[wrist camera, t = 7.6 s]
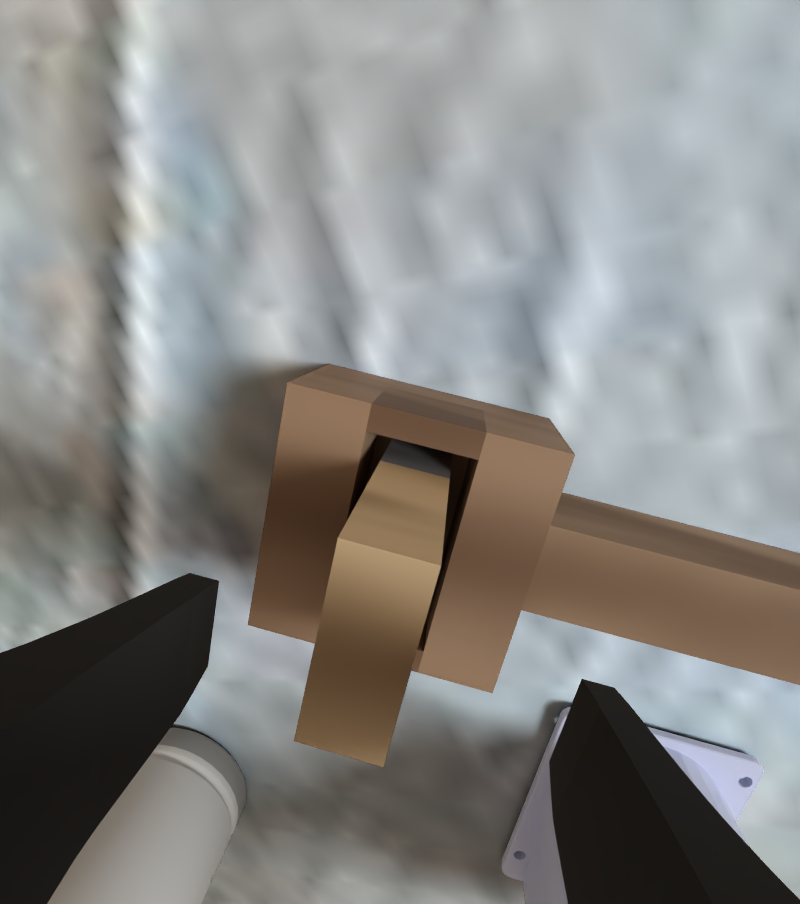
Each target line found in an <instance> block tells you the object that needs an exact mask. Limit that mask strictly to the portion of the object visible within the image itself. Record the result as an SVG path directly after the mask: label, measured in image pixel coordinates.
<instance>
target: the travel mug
mask: <svg viewBox="0 0 800 904" xmlns="http://www.w3.org/2000/svg"><path fill="white" fill-rule="evenodd" d="M246 798H247V797H246V784H245V780H244V776H243V774H242V772H241V770H240V768H239V766H238V764H237V763H236V761H235V760H234V759H233V757H232V756H231V755H230V754H229V753H228V752H227V751H226V750H225V749H224V748H223V747H222V746H220V745H219V744H217V743H216V742H214V741H213V740H212V739H210V738H208V737H206V736H204V735H202V734H199V733H196V732H193V731H190V730H187V729H180V728H170V729H169V730H168V732H167V733H166V735H165V736H164V737H163V739H162V740H161V741H160V743H159V744H158V745H157V747H156V748H155V750H154V751H153V752H152V754H151V755H150V756H149V758H148V759H147V760H146V762H145V763H144V764H143V766H142V767H141V769H140V770H139V771H138V773H137V774H136V775H135V777H134V778H133V779H132V781H131V782H130V783H129V785H128V786H127V787H126V789H125V790H124V791H123V793H122V794H121V796H120V797H119V798H118V800H117V801H116V802H115V804H114V805H113V806H112V808H111V809H110V810H109V812H108V813H107V814H106V816H105V817H104V818H103V820H102V821H101V823H100V824H99V825H98V827H97V828H96V829H95V831H94V832H93V834H92V835H91V837H90V838H89V839H88V841H87V842H86V844H85V845H84V847H83V848H82V850H81V851H80V853H79V854H78V855H77V857H76V858H75V860H74V861H73V863H72V865H71V866H70V868H69V870H68V871H67V873H66V874H65V876H64V878H63V879H62V881H61V882H60V884H59V886H58V887H57V889H56V890H55V892H54V894H53V895H52V897H51V898H50V900H49V902H48V903H47V904H202V902H203V900H204V898H205V895H206V893H207V891H208V888H209V886H210V884H211V882H212V879H213V877H214V875H215V873H216V870H217V868H218V866H219V864H220V861H221V859H222V857H223V854H224V852H225V850H226V848H227V845H228V843H229V840H230V837H231V835H232V834H233V832H234V830H235V827H236V825H237V823H238V821H239V818H240V816H241V814H242V811H243V809H244V807H245V802H246Z"/></svg>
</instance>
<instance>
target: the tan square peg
mask: <svg viewBox="0 0 800 904" xmlns="http://www.w3.org/2000/svg"><path fill="white" fill-rule="evenodd" d="M451 462H452V453H449V452H445V451H441V450H437V449H433V448H429V447H426V446H422V445H418V444H414V443H410V442H406V441H402V440H398V439H394V438H392V440H391V442H390V444H389V446H388V448H387V449H386V451H385V453H384V455H383V457H382V458H381V460H380V462H379V464H378V466H377V468H376V469H375V471H374V473H373V475H372V477H371V478H370V480H369V482H368V484H367V486H366V488H365V489H364V491H363V493H362V495H361V497H360V498H359V500H358V502H357V504H356V506H355V507H354V509H353V511H352V513H351V515H350V517H349V518H348V520H347V522H346V524H345V526H344V527H343V529H342V531H341V533H340V535H339V537H338V539H337V544H336V549H335V553H334V558H333V563H332V567H331V572H330V576H329V581H328V586H327V590H326V595H325V600H324V604H323V609H322V614H321V618H320V623H319V627H318V632H317V637H316V641H315V646H314V651H313V655H312V660H311V665H310V669H309V674H308V678H307V683H306V688H305V692H304V697H303V702H302V706H301V711H300V716H299V720H298V725H297V729H296V734H295V739H294V741H295V742H299V743H302V744H306V745H309V746H312V747H316V748H319V749H323V750H326V751H329V752H333V753H336V754H340V755H343V756H347V757H350V758H353V759H357V760H360V761H364V762H367V763H370V764H374V765H377V766H381V767H383V766H384V763H385V759H386V756H387V752H388V749H389V745H390V742H391V738H392V735H393V732H394V728H395V725H396V721H397V718H398V714H399V711H400V707H401V704H402V700H403V697H404V693H405V690H406V686H407V683H408V679H409V676H410V672H411V669H412V666H413V662H414V659H415V655H416V652H417V648H418V645H419V641H420V638H421V634H422V631H423V627H424V624H425V620H426V617H427V613H428V610H429V606H430V603H431V600H432V596H433V593H434V589H435V586H436V582H437V579H438V575H439V572H440V568H441V563H442V553H443V543H444V533H445V522H446V512H447V502H448V492H449V482H450V472H451Z"/></svg>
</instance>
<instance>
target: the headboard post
mask: <svg viewBox="0 0 800 904" xmlns="http://www.w3.org/2000/svg"><path fill="white" fill-rule="evenodd" d="M392 438H394V439H398V440H402V441H406V442H410V443H414V444H418V445H422V446H426V447H429V448H433V449H437V450H441V451H445V452H449V453H452V462H451V472H450V482H449V492H448V502H447V512H446V522H445V533H444V543H443V553H442V563H441V568H440V572H439V575H438V579H437V582H436V586H435V589H434V593H433V596H432V600H431V603H430V606H429V610H428V613H427V617H426V620H425V624H424V627H423V631H422V634H421V638H420V641H419V645H418V648H417V652H416V655H415V659H414V662H413V666H412V669H411V671H415V672H418V673H422V674H426V675H429V676H433V677H436V678H440V679H444V680H447V681H451V682H454V683H458V684H461V685H465V686H469V687H472V688H476V689H479V690H483V691H487V692H490V693H493V690H494V687H495V684H496V681H497V679H498V676H499V673H500V670H501V667H502V664H503V661H504V658H505V655H506V652H507V650H508V647H509V644H510V641H511V638H512V635H513V632H514V629H515V626H516V624H517V621H518V618H519V615H520V612H521V610H523V611H527V612H531V613H534V614H538V615H542V616H546V617H549V618H553V619H557V620H560V621H564V622H568V623H572V624H575V625H579V626H583V627H586V628H590V629H594V630H598V631H601V632H605V633H609V634H612V635H616V636H620V637H624V638H627V639H631V640H635V641H638V642H642V643H646V644H650V645H653V646H657V647H661V648H664V649H668V650H672V651H676V652H679V653H683V654H687V655H690V656H694V657H698V658H702V659H705V660H709V661H713V662H716V663H720V664H724V665H728V666H731V667H735V668H739V669H742V670H746V671H750V672H753V673H757V674H761V675H765V676H768V677H772V678H776V679H779V680H783V681H787V682H791V683H794V684H798V685H800V553H796V552H792V551H788V550H784V549H780V548H776V547H772V546H769V545H765V544H761V543H757V542H753V541H749V540H745V539H741V538H737V537H733V536H729V535H726V534H722V533H718V532H714V531H710V530H706V529H702V528H698V527H694V526H690V525H686V524H683V523H679V522H675V521H671V520H667V519H663V518H659V517H655V516H651V515H647V514H643V513H640V512H636V511H632V510H628V509H624V508H620V507H616V506H612V505H608V504H604V503H600V502H597V501H593V500H589V499H585V498H581V497H577V496H573V495H569V494H565V493H562V491H563V488H564V485H565V482H566V479H567V476H568V473H569V470H570V467H571V465H572V462H573V459H574V456H575V454H574V453H573V451H572V450H571V448H570V447H569V446H568V444H567V443H566V441H565V440H564V439H563V437H562V436H561V434H560V433H559V431H558V430H557V429H556V427H555V426H554V424H553V423H552V422H551V420H550V419H549V418H545V417H541V416H537V415H533V414H529V413H525V412H521V411H517V410H513V409H509V408H505V407H501V406H497V405H493V404H489V403H484V402H480V401H476V400H472V399H468V398H464V397H460V396H456V395H452V394H448V393H444V392H440V391H436V390H432V389H428V388H424V387H420V386H416V385H412V384H408V383H404V382H400V381H396V380H392V379H388V378H384V377H380V376H376V375H372V374H368V373H364V372H360V371H356V370H352V369H348V368H344V367H340V366H336V365H332V364H327V365H325V366H323V367H321V368H318V369H316V370H314V371H312V372H309V373H307V374H305V375H303V376H300V377H298V378H296V379H294V380H291V381H289V382H287V387H286V393H285V399H284V405H283V411H282V417H281V424H280V430H279V436H278V442H277V448H276V454H275V461H274V467H273V473H272V479H271V485H270V491H269V498H268V504H267V510H266V516H265V522H264V528H263V535H262V541H261V547H260V553H259V559H258V565H257V572H256V578H255V584H254V590H253V596H252V602H251V608H250V615H249V621H248V625H250V626H254V627H257V628H261V629H264V630H268V631H272V632H275V633H279V634H282V635H286V636H289V637H293V638H297V639H300V640H304V641H307V642H311V643H315V641H316V637H317V632H318V627H319V623H320V618H321V614H322V609H323V604H324V600H325V595H326V590H327V586H328V581H329V576H330V572H331V567H332V563H333V558H334V553H335V549H336V544H337V539H338V537H339V535H340V533H341V531H342V529H343V527H344V526H345V524H346V522H347V520H348V518H349V517H350V515H351V513H352V511H353V509H354V507H355V506H356V504H357V502H358V500H359V498H360V497H361V495H362V493H363V491H364V489H365V488H366V486H367V484H368V482H369V480H370V478H371V477H372V475H373V473H374V471H375V469H376V468H377V466H378V464H379V462H380V460H381V458H382V457H383V455H384V453H385V451H386V449H387V448H388V446H389V444H390V442H391V440H392Z"/></svg>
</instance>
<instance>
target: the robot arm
mask: <svg viewBox="0 0 800 904" xmlns="http://www.w3.org/2000/svg"><path fill="white" fill-rule="evenodd" d="M218 585H219V581H217V580H213V579H210V578H206V577H202V576H199V575H195V574H191V573H189V574H186V575H184V576H181V577H179V578H177V579H175V580H172V581H170V582H168V583H166V584H163V585H161V586H159V587H157V588H155V589H153V590H150V591H148V592H146V593H144V594H142V595H140V596H137V597H135V598H133V599H131V600H129V601H126V602H124V603H122V604H120V605H118V606H115V607H113V608H111V609H109V610H106V611H104V612H102V613H100V614H98V615H95V616H93V617H91V618H88V619H86V620H84V621H81V622H79V623H76V624H74V625H71V626H69V627H66V628H64V629H61V630H59V631H56V632H54V633H51V634H49V635H46V636H44V637H41V638H39V639H37V640H34V641H32V642H29V643H27V644H24V645H21V646H18V647H16V648H13V649H10V650H8V651H5V652H2V653H0V904H47V903H48V902H49V900H50V898H51V897H52V895H53V894H54V892H55V890H56V889H57V887H58V886H59V884H60V882H61V881H62V879H63V878H64V876H65V874H66V873H67V871H68V870H69V868H70V866H71V865H72V863H73V861H74V860H75V858H76V857H77V855H78V854H79V853H80V851H81V850H82V848H83V847H84V845H85V844H86V842H87V841H88V839H89V838H90V837H91V835H92V834H93V832H94V831H95V829H96V828H97V827H98V825H99V824H100V823H101V821H102V820H103V818H104V817H105V816H106V814H107V813H108V812H109V810H110V809H111V808H112V806H113V805H114V804H115V802H116V801H117V800H118V798H119V797H120V796H121V794H122V793H123V791H124V790H125V789H126V787H127V786H128V785H129V783H130V782H131V781H132V779H133V778H134V777H135V775H136V774H137V773H138V771H139V770H140V769H141V767H142V766H143V764H144V763H145V762H146V760H147V759H148V758H149V756H150V755H151V754H152V752H153V751H154V750H155V748H156V747H157V745H158V744H159V743H160V741H161V740H162V739H163V737H164V736H165V735H166V733H167V732H168V730H169V729H170V728H171V726H172V725H173V724H174V722H175V721H176V719H177V718H178V717H179V715H180V714H181V712H182V710H183V709H184V707H185V705H186V704H187V702H188V700H189V698H190V697H191V695H192V693H193V692H194V690H195V688H196V686H197V684H198V683H199V681H200V679H201V677H202V675H203V674H204V672H205V670H206V668H207V667H208V661H209V653H210V645H211V638H212V630H213V623H214V615H215V607H216V600H217V592H218ZM763 773H764V769H763V767H762V765H761V763H760V762H759V761H758V759H757V758H755V757H753V756H751V755H747V754H744V753H740V752H737V751H733V750H729V749H726V748H722V747H719V746H715V745H711V744H708V743H704V742H701V741H697V740H693V739H690V738H686V737H683V736H679V735H675V734H672V733H668V732H665V731H661V730H657V729H654V728H650V727H647V726H646V725H645V724H644V722H643V721H642V720H641V719H640V717H639V716H638V715H637V714H636V713H635V711H634V710H633V709H632V708H631V706H630V705H629V704H628V703H627V702H626V701H625V699H624V698H623V697H622V696H621V695H620V694H619V693H618V691H617V690H616V689H615V688H613V687H610V686H606V685H602V684H598V683H595V682H591V681H587V680H584V679H582V680H581V683H580V685H579V688H578V690H577V693H576V695H575V698H574V700H573V703H572V705H571V707H567V708H565V709H563V710H562V712H561V713H560V716H559V718H558V721H557V723H556V725H555V728H554V730H553V733H552V735H551V738H550V740H549V743H548V745H547V748H546V750H545V753H544V755H543V758H542V760H541V763H540V765H539V768H538V770H537V773H536V775H535V778H534V780H533V783H532V785H531V788H530V790H529V793H528V795H527V798H526V800H525V803H524V805H523V808H522V810H521V813H520V815H519V818H518V820H517V823H516V825H515V828H514V830H513V833H512V835H511V838H510V840H509V843H508V845H507V848H506V850H505V853H504V855H503V858H502V862H501V864H502V871H503V873H504V874H505V875H506V876H507V877H510V878H513V879H516V880H519V881H523V886H524V896H525V904H800V899H799V898H798V897H797V896H796V895H795V894H794V893H793V892H792V891H791V890H790V889H789V888H788V887H787V886H786V885H785V884H784V883H783V882H782V881H781V880H780V879H779V878H778V877H777V876H776V875H775V874H774V873H773V872H772V871H771V870H770V869H769V868H768V867H767V866H766V864H765V863H764V862H763V861H762V860H761V859H760V858H759V857H758V856H757V855H756V854H755V853H754V851H753V850H752V849H751V848H750V847H749V846H748V844H747V842H746V840H745V838H744V836H743V834H742V832H741V830H740V828H739V827H738V825H737V823H736V821H737V820H738V818H739V816H740V814H741V813H742V811H743V809H744V807H745V806H746V804H747V802H748V800H749V799H750V797H751V795H752V793H753V792H754V790H755V788H756V786H757V785H758V783H759V781H760V779H761V778H762V776H763ZM743 777H745V778H743ZM740 778H742V779H740Z"/></svg>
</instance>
